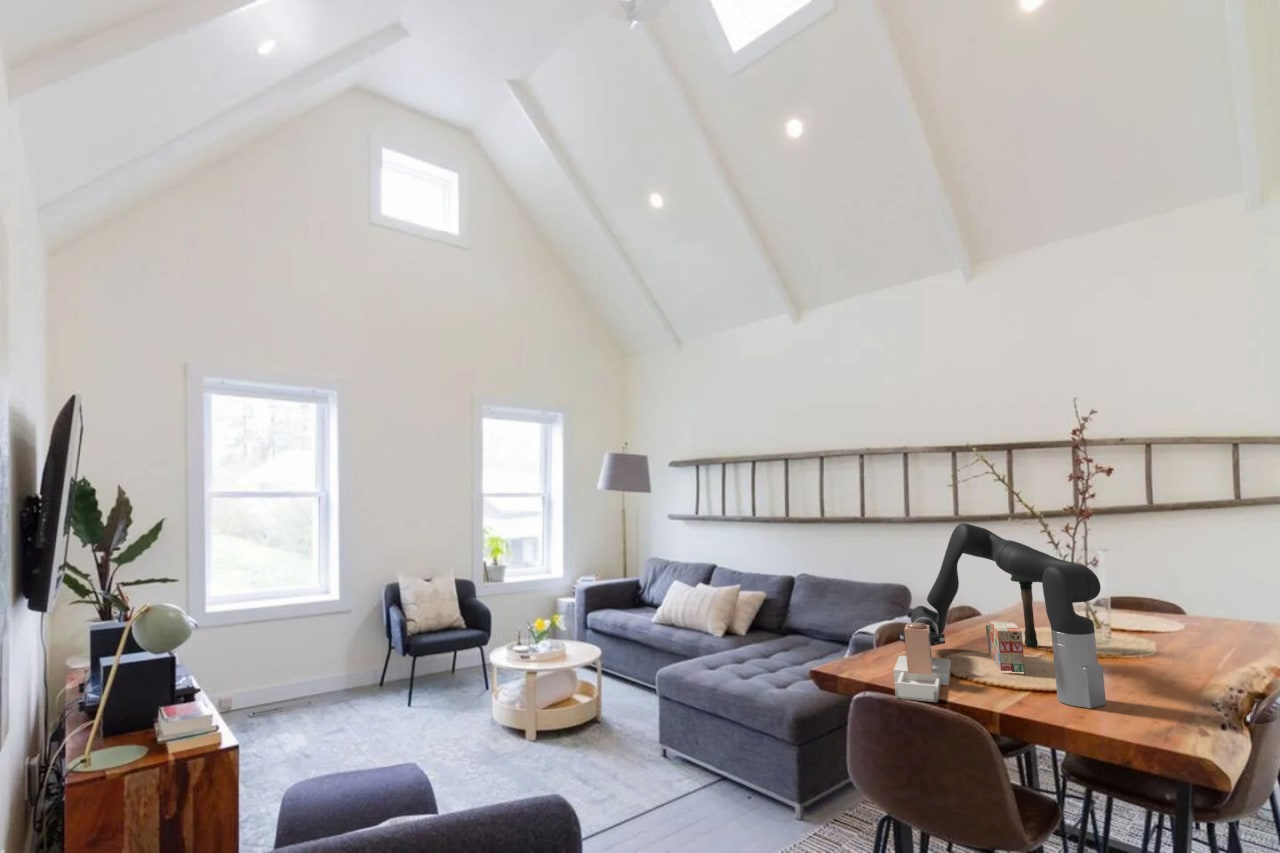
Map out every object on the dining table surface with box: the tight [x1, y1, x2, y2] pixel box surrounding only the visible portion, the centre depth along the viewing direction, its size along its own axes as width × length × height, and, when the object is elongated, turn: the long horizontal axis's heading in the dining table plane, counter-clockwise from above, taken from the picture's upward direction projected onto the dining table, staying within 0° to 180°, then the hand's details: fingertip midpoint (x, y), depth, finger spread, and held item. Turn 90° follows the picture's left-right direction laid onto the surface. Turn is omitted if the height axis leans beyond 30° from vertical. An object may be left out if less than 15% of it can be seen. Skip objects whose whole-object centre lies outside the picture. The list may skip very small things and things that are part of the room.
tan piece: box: [903, 622, 933, 675], centre depth 187 cm, size 6×6×13 cm
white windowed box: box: [893, 655, 952, 686], centre depth 193 cm, size 16×14×3 cm
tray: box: [894, 672, 942, 703], centre depth 179 cm, size 15×10×4 cm, turn 153°
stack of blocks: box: [985, 620, 1026, 673], centre depth 201 cm, size 21×6×12 cm, turn 161°
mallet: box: [1010, 574, 1039, 648], centre depth 219 cm, size 8×9×30 cm
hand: (919, 644), depth 190 cm, fingers closed
